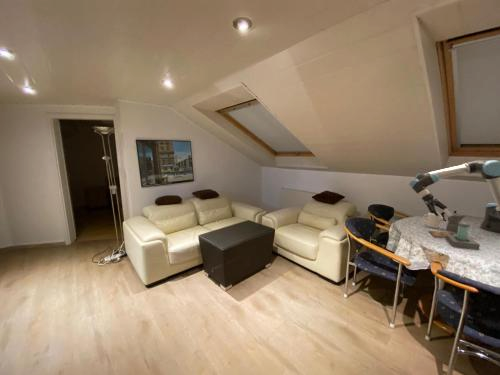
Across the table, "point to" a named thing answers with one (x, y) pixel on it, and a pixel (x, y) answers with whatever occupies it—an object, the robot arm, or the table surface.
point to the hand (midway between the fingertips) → (446, 217)
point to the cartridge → (463, 231)
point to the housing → (462, 242)
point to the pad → (440, 234)
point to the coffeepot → (453, 221)
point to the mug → (432, 220)
